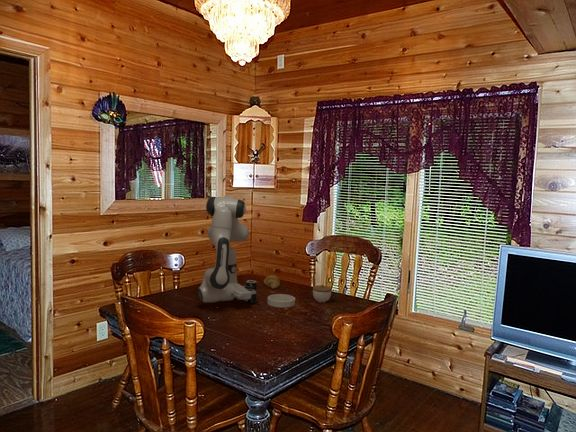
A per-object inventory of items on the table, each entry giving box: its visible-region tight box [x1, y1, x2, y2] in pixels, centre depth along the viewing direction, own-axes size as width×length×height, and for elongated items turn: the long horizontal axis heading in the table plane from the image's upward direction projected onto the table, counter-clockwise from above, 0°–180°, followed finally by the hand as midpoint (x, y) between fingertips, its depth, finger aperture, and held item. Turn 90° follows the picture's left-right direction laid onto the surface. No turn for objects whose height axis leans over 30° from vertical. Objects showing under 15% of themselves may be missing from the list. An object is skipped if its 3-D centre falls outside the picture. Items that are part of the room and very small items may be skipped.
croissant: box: [263, 274, 281, 290], centre depth 269 cm, size 21×10×8 cm, turn 10°
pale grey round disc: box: [266, 293, 296, 308], centre depth 232 cm, size 15×15×3 cm
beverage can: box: [243, 279, 258, 305], centre depth 230 cm, size 7×7×12 cm
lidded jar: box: [312, 284, 332, 303], centre depth 240 cm, size 11×11×9 cm
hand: (252, 289), depth 231 cm, fingers closed on beverage can, 7 cm apart
